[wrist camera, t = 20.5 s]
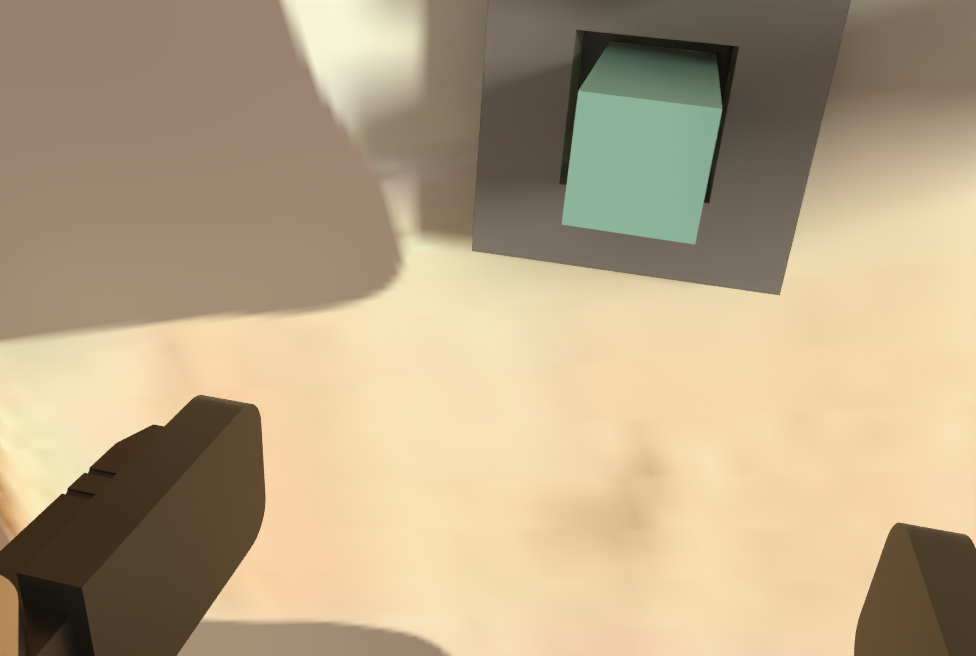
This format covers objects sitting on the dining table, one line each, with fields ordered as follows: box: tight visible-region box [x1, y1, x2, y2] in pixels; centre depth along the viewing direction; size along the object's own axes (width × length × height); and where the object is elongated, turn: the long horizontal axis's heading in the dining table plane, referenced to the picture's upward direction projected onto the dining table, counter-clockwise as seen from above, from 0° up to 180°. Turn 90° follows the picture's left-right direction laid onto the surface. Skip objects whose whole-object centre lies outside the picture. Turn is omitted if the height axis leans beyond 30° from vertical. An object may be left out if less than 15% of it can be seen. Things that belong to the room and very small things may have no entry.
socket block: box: [472, 0, 851, 295], centre depth 31 cm, size 18×12×3 cm, turn 176°
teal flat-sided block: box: [562, 41, 722, 245], centre depth 30 cm, size 4×4×10 cm
